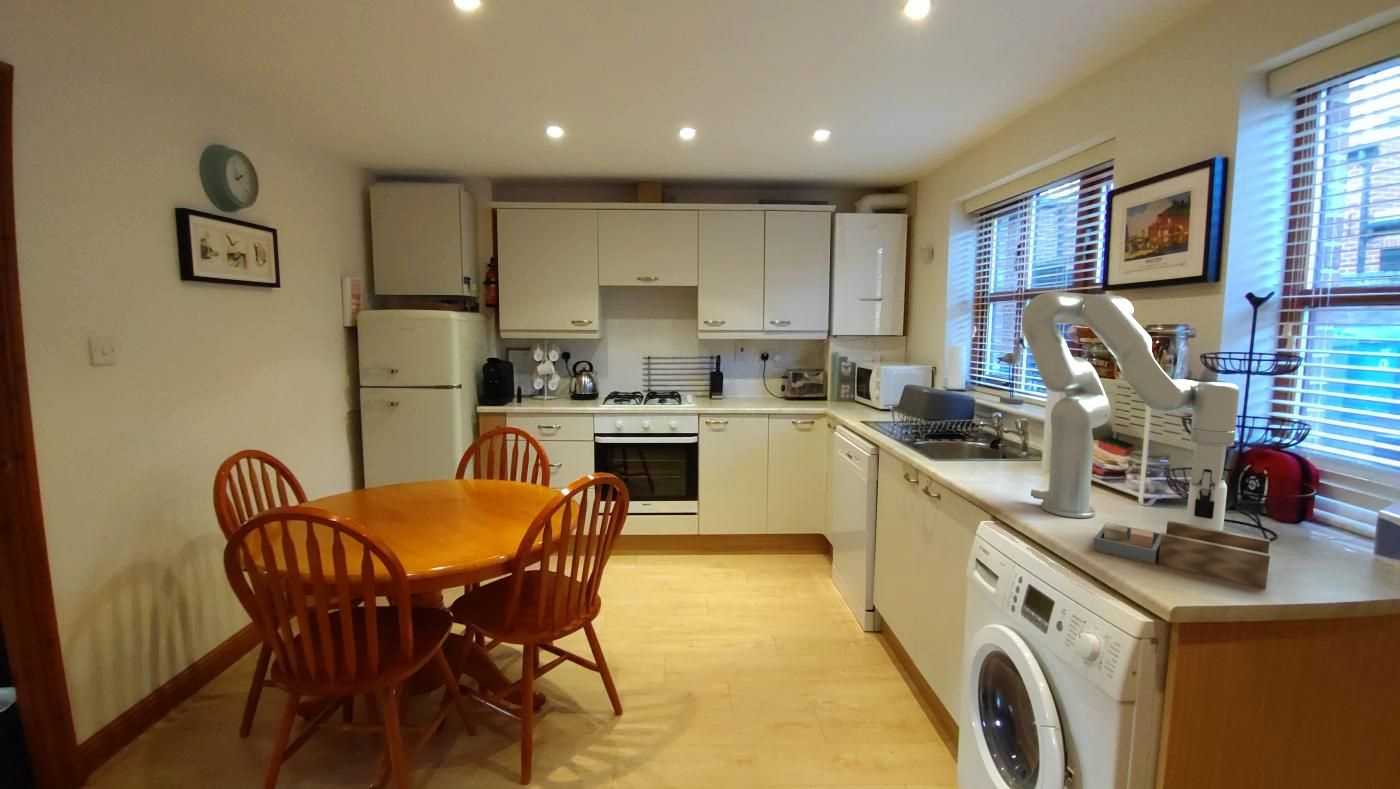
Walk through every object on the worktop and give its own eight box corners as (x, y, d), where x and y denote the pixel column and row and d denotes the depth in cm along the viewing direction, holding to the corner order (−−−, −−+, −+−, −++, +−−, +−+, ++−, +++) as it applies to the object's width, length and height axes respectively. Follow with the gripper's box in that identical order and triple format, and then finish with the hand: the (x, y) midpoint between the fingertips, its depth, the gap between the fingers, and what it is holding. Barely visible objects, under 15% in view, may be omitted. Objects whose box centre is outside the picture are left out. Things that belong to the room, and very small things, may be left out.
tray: (1093, 550, 131) (1094, 537, 131) (1105, 534, 141) (1106, 522, 141) (1154, 564, 124) (1156, 551, 124) (1163, 546, 134) (1164, 534, 134)
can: (1179, 525, 136) (1184, 475, 135) (1195, 522, 139) (1200, 472, 138) (1212, 534, 131) (1217, 482, 129) (1228, 530, 133) (1234, 479, 132)
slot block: (1158, 564, 124) (1161, 534, 123) (1165, 548, 133) (1168, 520, 132) (1265, 588, 113) (1269, 556, 112) (1265, 569, 121) (1269, 539, 121)
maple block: (1126, 531, 131) (1124, 548, 131) (1127, 527, 134) (1126, 543, 134) (1104, 527, 133) (1103, 544, 134) (1106, 523, 136) (1105, 539, 137)
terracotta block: (1130, 533, 130) (1153, 537, 127) (1130, 528, 133) (1153, 532, 131) (1128, 550, 130) (1151, 554, 128) (1129, 545, 133) (1151, 549, 131)
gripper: (1193, 429, 141) (1187, 502, 143) (1186, 440, 129) (1179, 519, 131) (1236, 433, 136) (1228, 508, 138) (1232, 444, 124) (1224, 526, 126)
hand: (1204, 512), depth 134 cm, fingers closed on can, 6 cm apart
